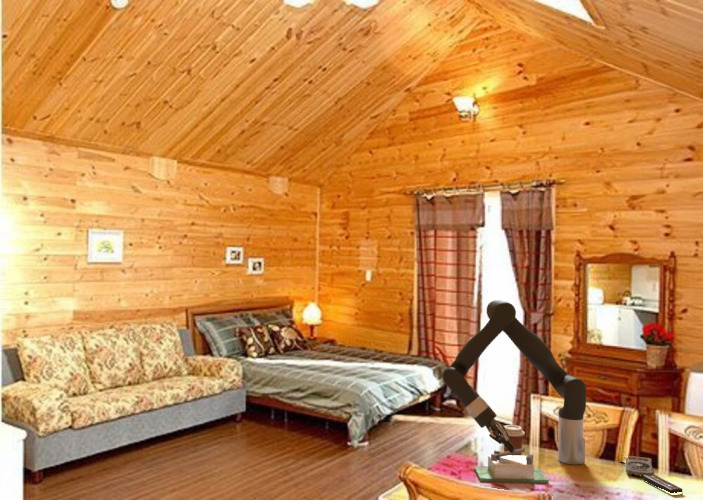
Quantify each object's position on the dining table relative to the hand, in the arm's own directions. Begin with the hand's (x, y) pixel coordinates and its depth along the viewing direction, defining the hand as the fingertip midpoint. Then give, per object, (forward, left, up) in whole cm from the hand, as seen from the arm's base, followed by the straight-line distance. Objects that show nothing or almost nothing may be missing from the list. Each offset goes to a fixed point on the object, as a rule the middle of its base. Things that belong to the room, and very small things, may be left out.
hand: (513, 450), depth 218 cm
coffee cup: (-5, -22, -10) cm, 24 cm away
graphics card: (-49, -10, -10) cm, 51 cm away
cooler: (+1, 0, -10) cm, 10 cm away
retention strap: (+1, -1, -2) cm, 2 cm away
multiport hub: (-50, +7, -10) cm, 52 cm away
